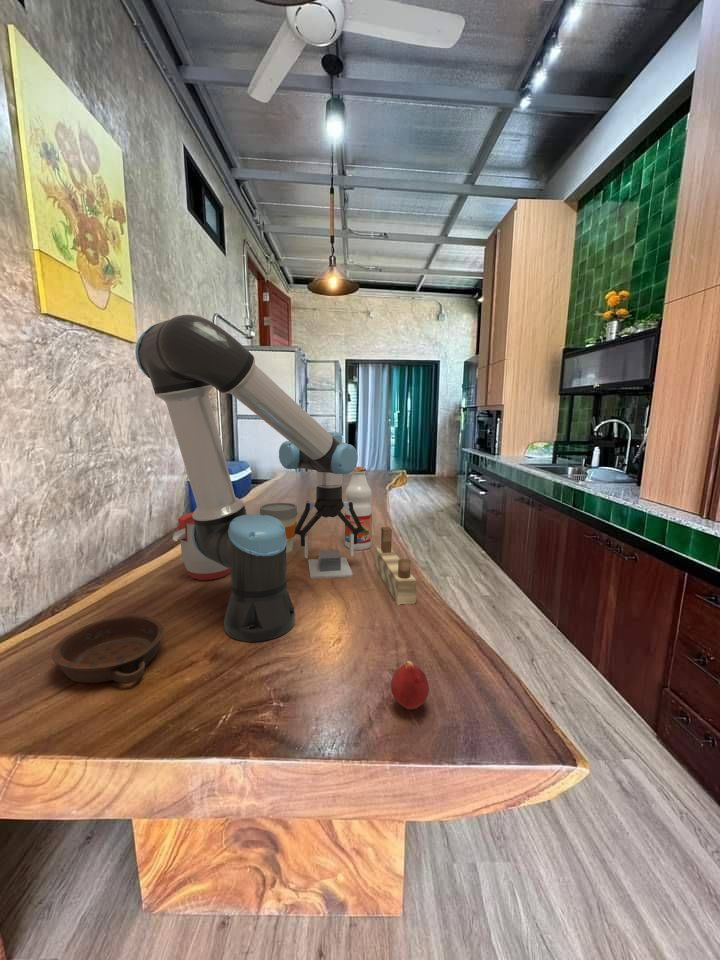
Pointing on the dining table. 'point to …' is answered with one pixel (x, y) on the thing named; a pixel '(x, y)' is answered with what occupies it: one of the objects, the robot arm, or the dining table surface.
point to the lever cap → (329, 560)
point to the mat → (317, 574)
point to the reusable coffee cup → (283, 519)
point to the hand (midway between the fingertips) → (329, 555)
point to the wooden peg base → (395, 570)
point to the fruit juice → (359, 509)
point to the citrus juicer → (196, 553)
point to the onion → (410, 686)
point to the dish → (110, 649)
